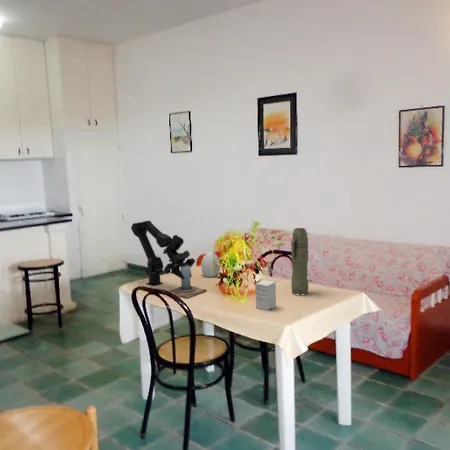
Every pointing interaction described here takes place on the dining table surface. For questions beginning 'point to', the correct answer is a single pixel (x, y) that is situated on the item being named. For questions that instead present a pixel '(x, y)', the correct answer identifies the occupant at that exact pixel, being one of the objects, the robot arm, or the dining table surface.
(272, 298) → the grey drawer cabinet
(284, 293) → the dining table surface
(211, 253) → the decorative egg
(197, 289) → the collar board
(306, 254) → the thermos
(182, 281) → the sleeve
